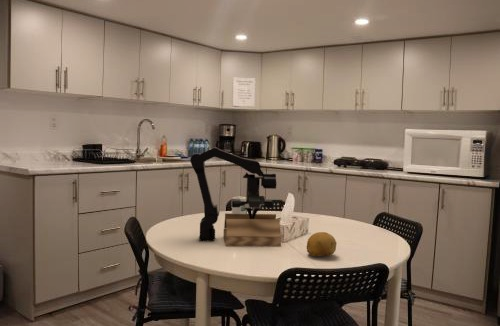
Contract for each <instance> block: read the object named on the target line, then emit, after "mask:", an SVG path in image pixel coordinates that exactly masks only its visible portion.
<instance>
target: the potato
mask: <svg viewBox="0 0 500 326" xmlns="http://www.w3.org/2000/svg"><path fill="white" fill-rule="evenodd" d="M336 250H337V241H336V239H335V237H334V236H333V235H332V234H331V233H328V232H323V231H321V232H320V231H319V232H315V233H313V234H311V235H310V236H309V238H308V239H307V243H306V252H307V253H308V254H309V255H310V256H312V257H320V256H321V257H330V256H332V255H333V254H335V252H336Z"/></svg>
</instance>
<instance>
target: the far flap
mask: <svg viewBox="0 0 500 326" xmlns="http://www.w3.org/2000/svg"><path fill="white" fill-rule="evenodd" d="M226 219H250V218H249V214H248V213H247V214H236V213H232V212H231V213H226V212H225V213H224V223H223V229H227V225H226ZM254 219H277V214H276V213H256V215H255V218H254Z"/></svg>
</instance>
